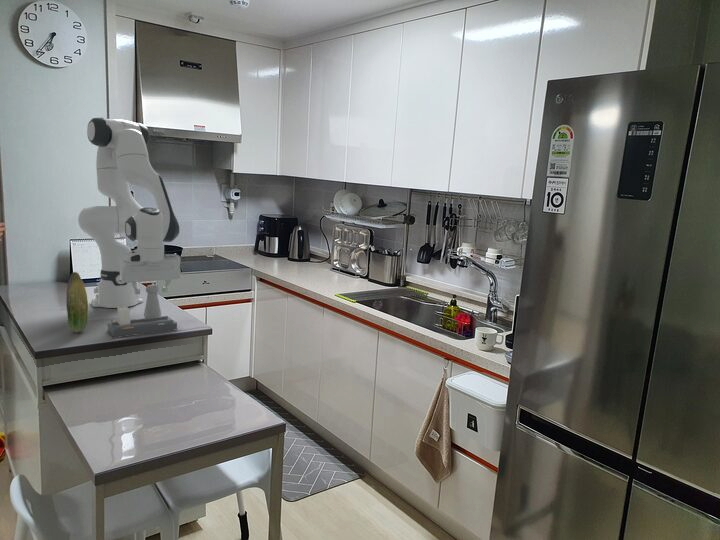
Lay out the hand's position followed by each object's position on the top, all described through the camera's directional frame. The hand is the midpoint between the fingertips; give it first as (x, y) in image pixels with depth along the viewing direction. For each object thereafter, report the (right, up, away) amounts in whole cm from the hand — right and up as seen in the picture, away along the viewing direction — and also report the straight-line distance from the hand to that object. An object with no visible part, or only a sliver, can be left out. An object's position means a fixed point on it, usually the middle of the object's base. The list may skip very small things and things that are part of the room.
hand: (151, 292), depth 191 cm
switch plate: (+1, -12, -10) cm, 16 cm away
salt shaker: (0, -10, +1) cm, 10 cm away
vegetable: (-17, -13, -16) cm, 27 cm away
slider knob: (-3, -10, -14) cm, 18 cm away
